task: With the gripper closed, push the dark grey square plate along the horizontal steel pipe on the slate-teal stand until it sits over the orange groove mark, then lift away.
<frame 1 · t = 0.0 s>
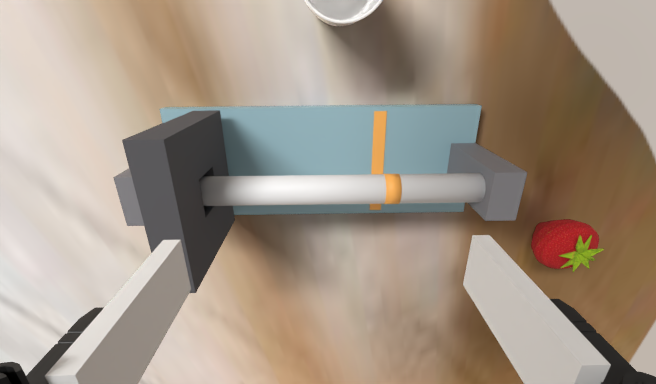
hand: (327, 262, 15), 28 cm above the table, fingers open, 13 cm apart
dark grey square plate: (194, 191, 33), point 10 cm above the table, slide at 0.0 cm
pipe stand: (322, 160, 42), on the table
strawberry: (537, 223, 46), on the table
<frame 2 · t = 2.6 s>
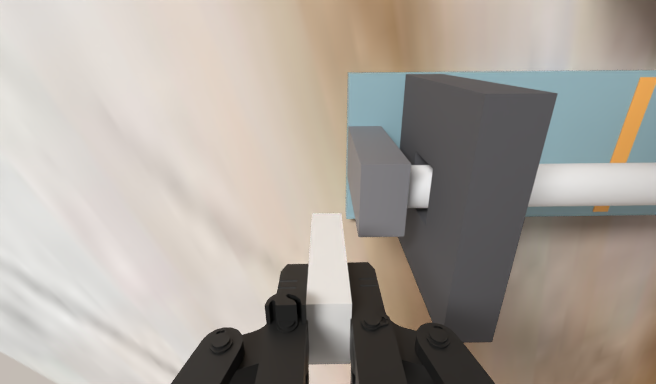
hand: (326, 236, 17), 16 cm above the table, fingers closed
dark grey square plate: (441, 186, 22), point 10 cm above the table, slide at 0.0 cm
pipe stand: (538, 146, 32), on the table
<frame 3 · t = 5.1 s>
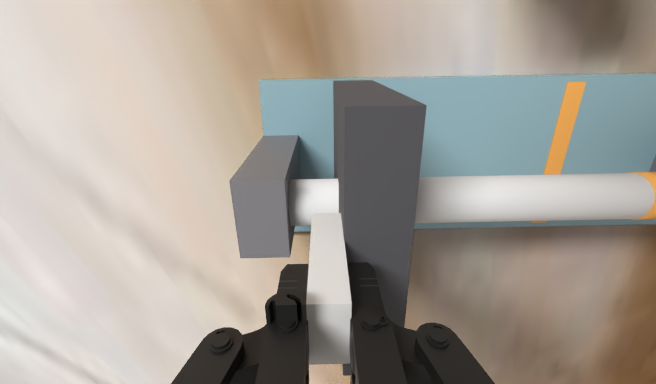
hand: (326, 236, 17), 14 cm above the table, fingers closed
dark grey square plate: (360, 201, 21), point 10 cm above the table, slide at 1.5 cm, touching gripper
pipe stand: (471, 154, 30), on the table
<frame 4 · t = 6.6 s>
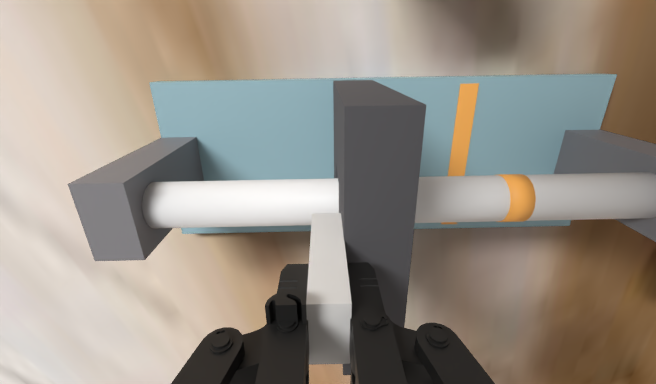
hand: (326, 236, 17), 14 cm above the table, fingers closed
dark grey square plate: (360, 201, 21), point 10 cm above the table, slide at 10.3 cm, touching gripper
pipe stand: (377, 156, 30), on the table
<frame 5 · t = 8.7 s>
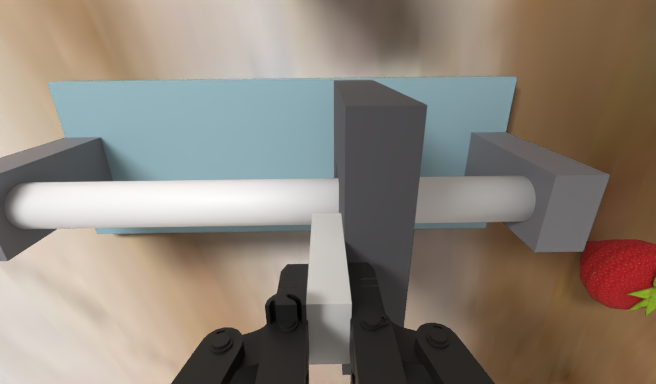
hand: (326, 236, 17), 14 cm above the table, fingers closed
dark grey square plate: (360, 200, 21), point 10 cm above the table, slide at 18.5 cm, touching gripper
pipe stand: (290, 157, 30), on the table
strawberry: (584, 242, 34), on the table
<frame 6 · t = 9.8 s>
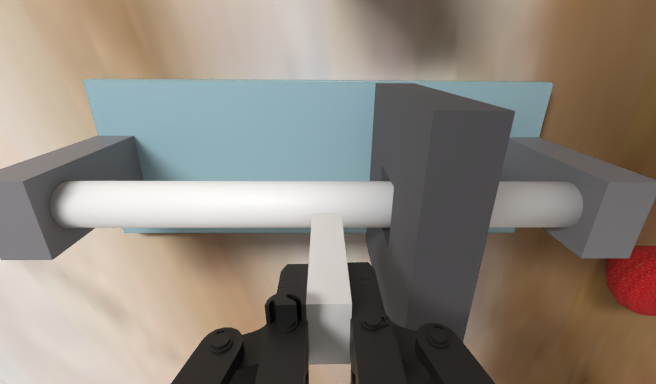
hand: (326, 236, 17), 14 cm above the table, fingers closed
dark grey square plate: (408, 204, 21), point 10 cm above the table, slide at 18.7 cm
pipe stand: (321, 159, 30), on the table
strawberry: (609, 248, 35), on the table
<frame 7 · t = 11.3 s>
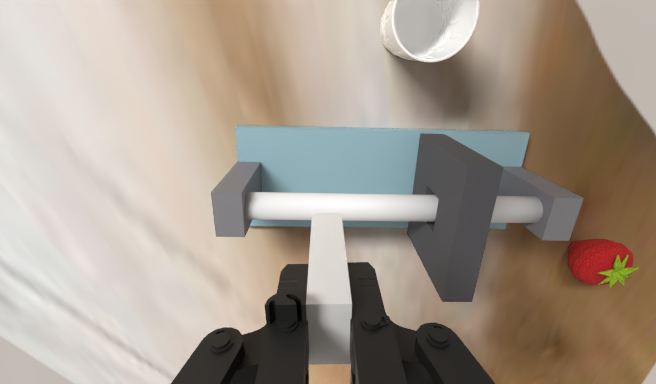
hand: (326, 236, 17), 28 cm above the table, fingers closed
white cup: (407, 27, 38), on the table
dark grey square plate: (443, 208, 36), point 10 cm above the table, slide at 18.7 cm
pipe stand: (377, 178, 45), on the table
strawberry: (571, 242, 50), on the table
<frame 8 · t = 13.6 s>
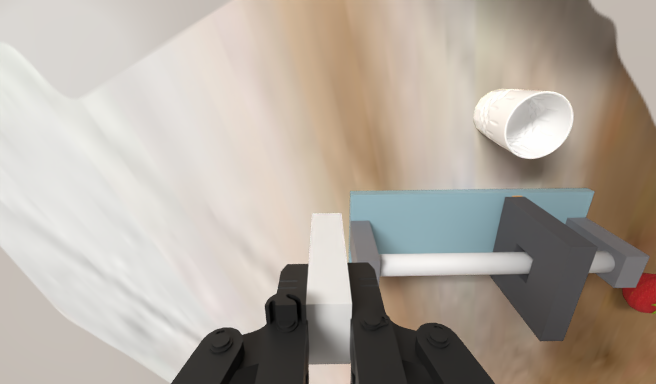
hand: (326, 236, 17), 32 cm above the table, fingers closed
white cup: (495, 112, 47), on the table
dark grey square plate: (531, 262, 45), point 10 cm above the table, slide at 18.7 cm
pipe stand: (462, 228, 54), on the table
strawberry: (623, 273, 58), on the table
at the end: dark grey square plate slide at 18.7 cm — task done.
